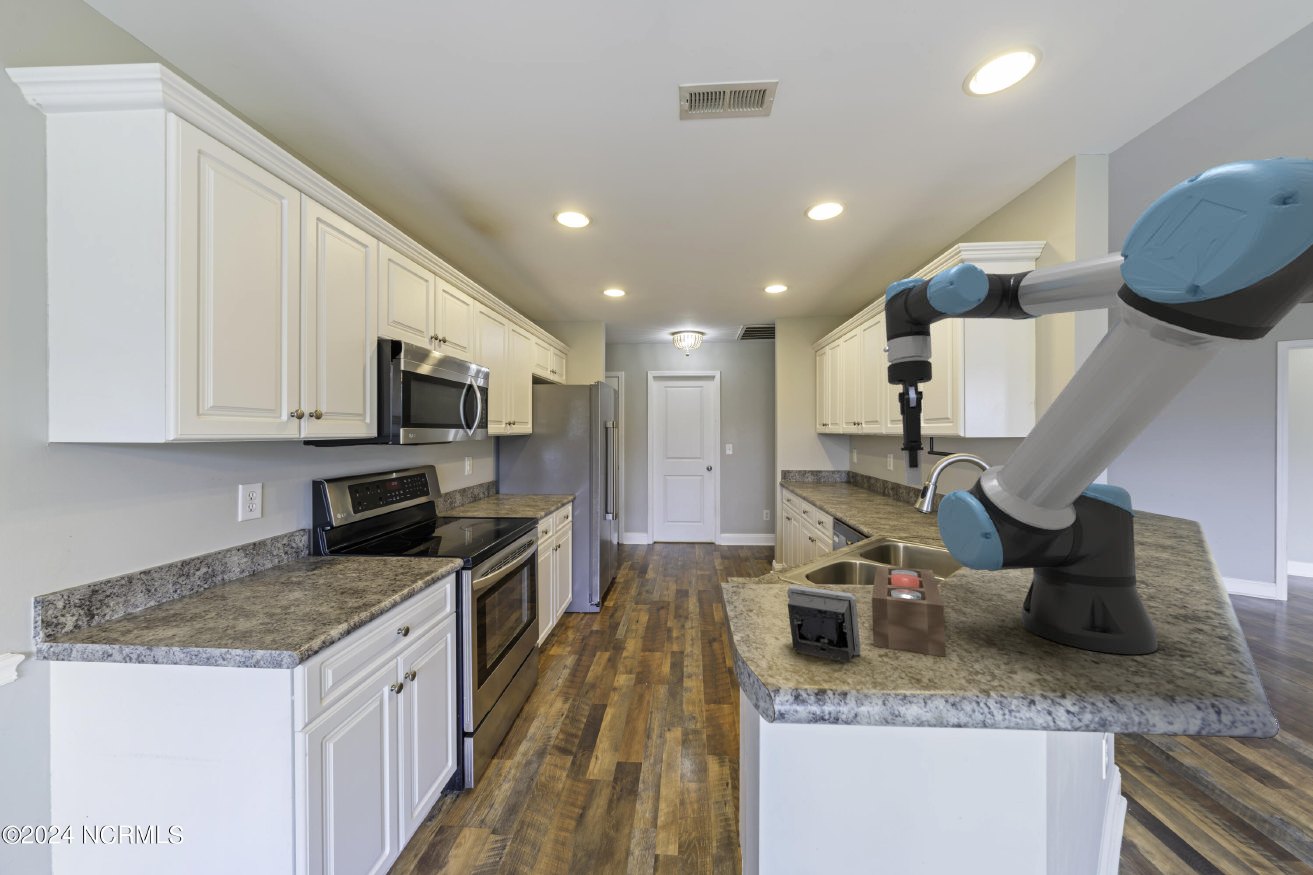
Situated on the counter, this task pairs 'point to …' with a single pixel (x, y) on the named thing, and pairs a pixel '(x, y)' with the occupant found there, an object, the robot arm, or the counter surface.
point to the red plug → (905, 580)
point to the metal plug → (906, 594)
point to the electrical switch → (823, 622)
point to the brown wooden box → (908, 614)
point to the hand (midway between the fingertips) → (913, 484)
